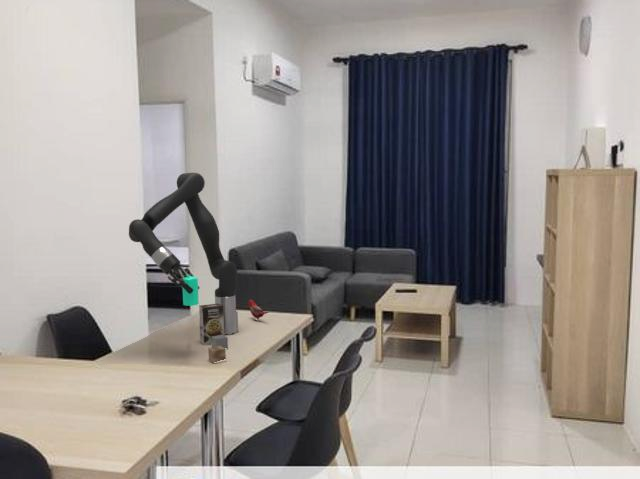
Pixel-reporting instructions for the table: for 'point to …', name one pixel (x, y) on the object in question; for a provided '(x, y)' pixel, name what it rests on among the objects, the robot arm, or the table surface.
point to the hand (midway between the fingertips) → (194, 290)
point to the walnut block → (216, 353)
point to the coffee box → (211, 322)
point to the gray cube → (219, 341)
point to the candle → (193, 297)
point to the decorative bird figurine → (256, 310)
